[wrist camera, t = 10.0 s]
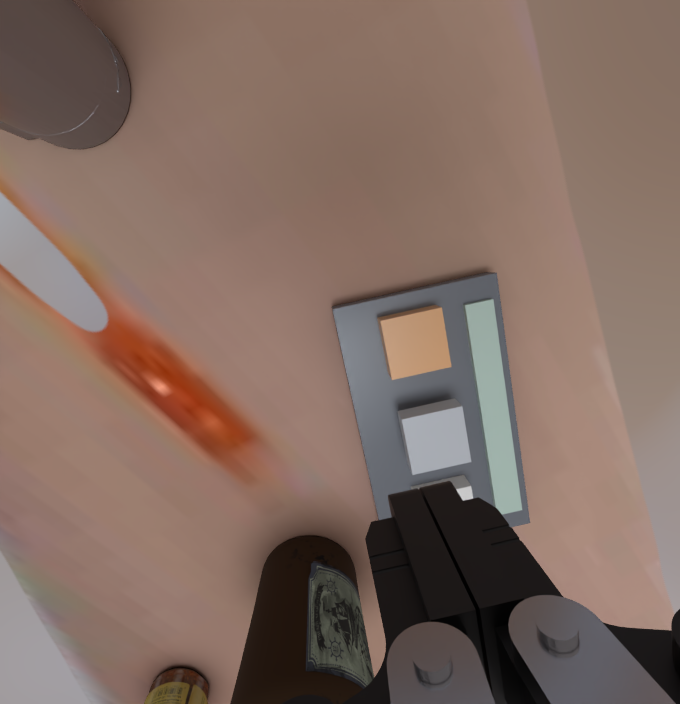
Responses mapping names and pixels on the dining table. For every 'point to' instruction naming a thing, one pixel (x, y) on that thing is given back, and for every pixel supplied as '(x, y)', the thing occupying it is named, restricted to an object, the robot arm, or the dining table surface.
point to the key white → (459, 484)
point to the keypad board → (438, 392)
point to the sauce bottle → (178, 688)
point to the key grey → (434, 436)
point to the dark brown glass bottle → (305, 628)
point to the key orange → (414, 342)
